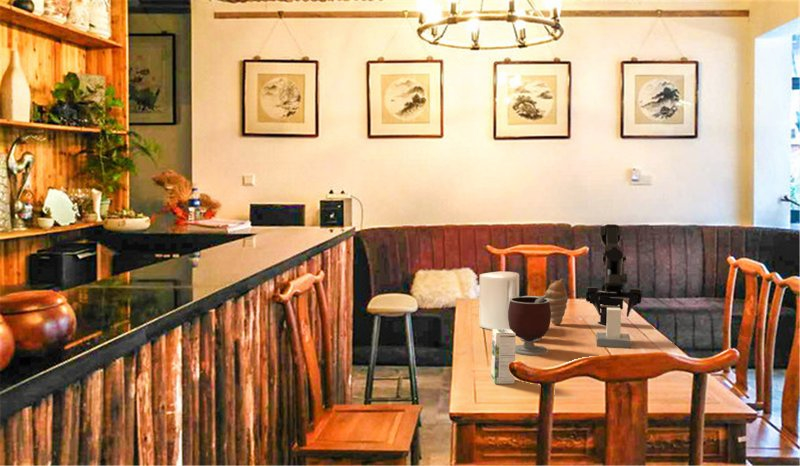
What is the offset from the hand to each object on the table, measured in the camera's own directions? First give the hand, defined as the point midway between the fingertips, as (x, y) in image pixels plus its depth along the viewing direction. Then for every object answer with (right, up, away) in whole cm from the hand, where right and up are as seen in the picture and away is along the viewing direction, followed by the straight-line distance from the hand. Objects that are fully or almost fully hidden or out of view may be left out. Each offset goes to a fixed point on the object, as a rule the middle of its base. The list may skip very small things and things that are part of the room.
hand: (613, 315), depth 251 cm
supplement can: (-28, -10, +7) cm, 30 cm away
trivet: (0, -10, 0) cm, 10 cm away
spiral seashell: (-13, -8, +32) cm, 35 cm away
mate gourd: (-31, -11, -11) cm, 34 cm away
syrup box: (-45, -14, -46) cm, 65 cm away
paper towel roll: (-35, -8, +24) cm, 43 cm away
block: (0, -7, 0) cm, 7 cm away
